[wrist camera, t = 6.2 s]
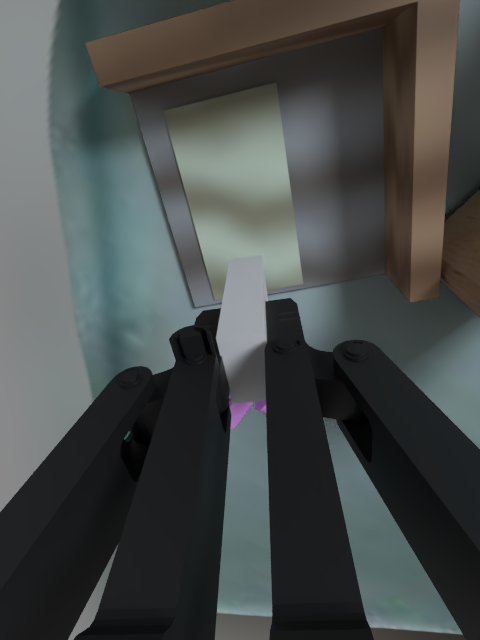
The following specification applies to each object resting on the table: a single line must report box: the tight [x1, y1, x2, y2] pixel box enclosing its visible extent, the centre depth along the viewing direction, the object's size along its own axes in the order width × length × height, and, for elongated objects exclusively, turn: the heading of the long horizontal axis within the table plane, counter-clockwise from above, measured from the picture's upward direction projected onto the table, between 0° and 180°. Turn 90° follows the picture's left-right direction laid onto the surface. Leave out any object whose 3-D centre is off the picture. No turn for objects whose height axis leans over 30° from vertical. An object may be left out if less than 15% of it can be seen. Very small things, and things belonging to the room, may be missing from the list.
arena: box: [85, 0, 460, 307], centre depth 25 cm, size 19×19×6 cm
